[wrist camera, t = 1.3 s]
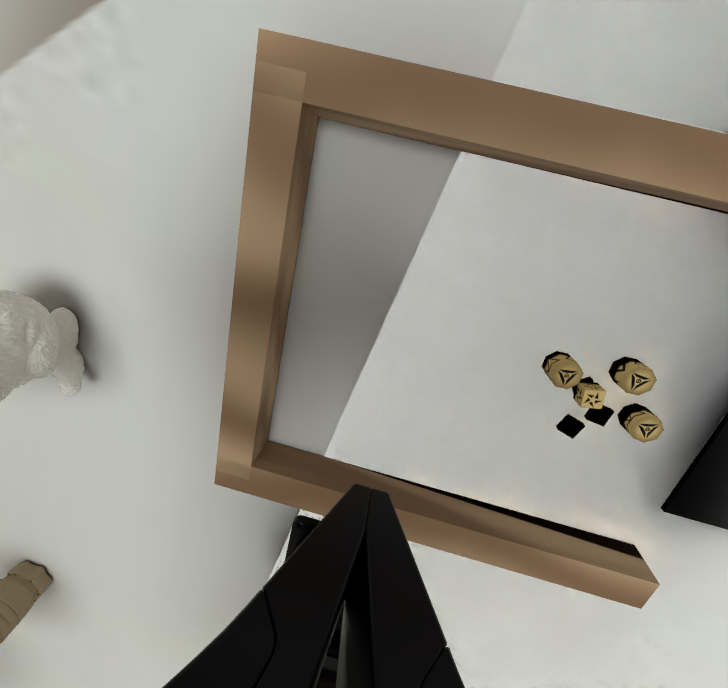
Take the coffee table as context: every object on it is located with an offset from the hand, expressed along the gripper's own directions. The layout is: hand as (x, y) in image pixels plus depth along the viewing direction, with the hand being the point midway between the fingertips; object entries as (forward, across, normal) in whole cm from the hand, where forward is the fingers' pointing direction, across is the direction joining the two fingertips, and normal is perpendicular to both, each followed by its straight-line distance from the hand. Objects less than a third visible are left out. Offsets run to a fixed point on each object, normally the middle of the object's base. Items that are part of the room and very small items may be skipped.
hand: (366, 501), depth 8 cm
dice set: (+13, -11, 0) cm, 17 cm away
